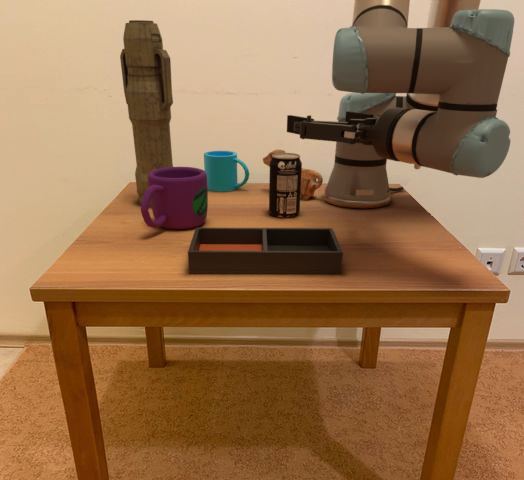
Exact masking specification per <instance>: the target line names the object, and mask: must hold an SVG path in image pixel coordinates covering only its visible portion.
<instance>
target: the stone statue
mask: <svg viewBox="0 0 524 480" xmlns="http://www.w3.org/2000/svg"><path fill="white" fill-rule="evenodd" d="M122 37H123V38H122V40H123V41H122V42H123V48H122V49H121V52H120V55H119V59H120V67H121V76H122V77H121V78H122V84H123V85H122V87H123V93H124V99H125V103H126V105H127V112H128V119H129V121H130V123H131V126H132V136H133V144H134V145H133V146H134V153H135V163H136V164H135V165H136V167H135V172H134V176H135V185H136V186H135V187H136V193H137V194H138V204H139V205H140V206H141V203H142V199H143V196H144V194H145V191H146V190H147V189H148V188H149V184H148V173H149V172H150V171H153V170H155V169H160V168H166V167H174V163H173V151H172V137H171V125H170V122H171V120H172V111H171V107H172V105H173V104H174V98H173V88H172V86H173V85H172V84H173V83H172V66H171V64H172V63H171V56H170V55H169V53H168V52H167V50H166V49H164V44H163V37H162V34H161V32H160V28H159V25H158V23H155V22H154V20H144V19H143V20H141V19H140V20H139V19H138V20H136V19H135V20H131V19H130V20H128V22H125V24H124V31H123V36H122ZM149 208H152V206H151V200H150V203H149Z"/></svg>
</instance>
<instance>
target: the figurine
mask: <svg viewBox="0 0 524 480" xmlns="http://www.w3.org/2000/svg"><path fill="white" fill-rule="evenodd" d="M276 153H287V152H286V151H285V150H284V149H274V150H272V151H270V152H268V154H267V155H266V156H264V157H263V158H262V162H263V164H264V165H266V166H268V167H269V168H270V161H271V160H272V155H273V154H276ZM323 181H324V179H323V176H322V174H321V173H320V172H318V171H316V170H313V169H310V168H304V167H302V172H301V193H300V200H302V201H306V200H309V199H310V198H313V197H314V195H315V192H316V190H318V189H320V187H321V186H322V185H323Z"/></svg>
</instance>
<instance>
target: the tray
mask: <svg viewBox="0 0 524 480" xmlns="http://www.w3.org/2000/svg"><path fill="white" fill-rule="evenodd" d="M343 255H344V252H343V250H342V247H341V245H340V243H339V240H338V238H337V236H336V232H335V231H334V228H333V227H208V226H207V227H202V226H201V227H200V226H197V227H195V228H194V231H193V235H192V238H191V240H190V243H189V248H188V251H187V259H188V260H187V261H188V273H189V274H229V275H230V274H232V275H233V274H235V275H237V274H241V275H242V274H243V275H246V274H247V275H249V274H250V275H251V274H253V275H254V274H255V275H256V274H259V275H260V274H264V275H265V274H268V275H274V274H275V275H341V274H342V267H343Z"/></svg>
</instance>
